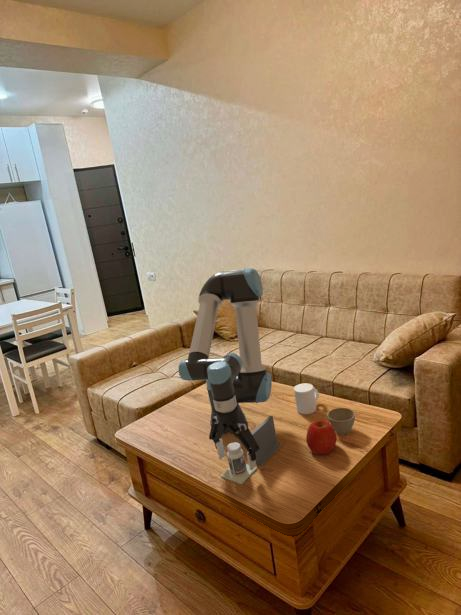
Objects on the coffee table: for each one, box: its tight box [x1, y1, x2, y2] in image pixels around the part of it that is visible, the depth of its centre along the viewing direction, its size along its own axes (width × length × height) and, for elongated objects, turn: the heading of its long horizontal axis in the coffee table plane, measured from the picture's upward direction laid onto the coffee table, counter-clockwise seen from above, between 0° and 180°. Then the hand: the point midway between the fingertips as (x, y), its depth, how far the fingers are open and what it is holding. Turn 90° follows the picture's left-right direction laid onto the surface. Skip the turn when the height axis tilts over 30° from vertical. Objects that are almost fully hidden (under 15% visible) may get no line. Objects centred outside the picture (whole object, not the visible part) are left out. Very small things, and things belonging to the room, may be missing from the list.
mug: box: [293, 382, 320, 415], centre depth 177 cm, size 8×10×12 cm
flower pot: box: [327, 407, 356, 436], centre depth 156 cm, size 10×10×7 cm
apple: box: [305, 419, 338, 455], centre depth 148 cm, size 11×11×11 cm
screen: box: [251, 415, 281, 466], centre depth 150 cm, size 4×13×12 cm, turn 141°
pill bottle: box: [226, 441, 247, 476], centre depth 143 cm, size 6×6×10 cm
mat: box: [220, 463, 258, 485], centre depth 144 cm, size 9×9×1 cm
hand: (237, 462), depth 143 cm, fingers open, 13 cm apart
